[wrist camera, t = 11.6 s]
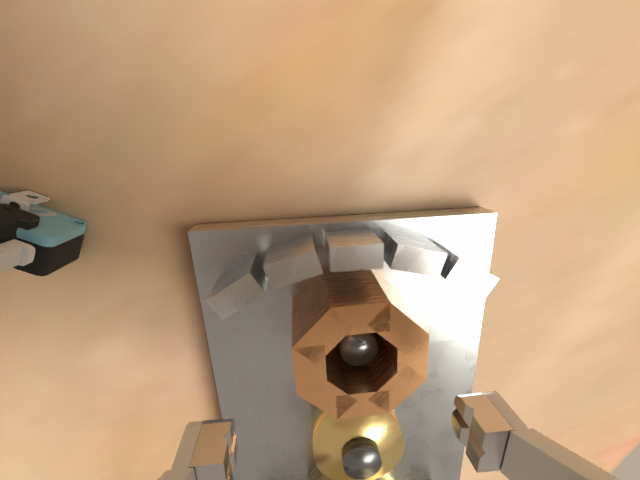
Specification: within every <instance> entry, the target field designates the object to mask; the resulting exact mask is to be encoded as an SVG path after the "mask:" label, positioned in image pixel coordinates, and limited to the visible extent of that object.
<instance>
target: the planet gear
mask: <svg viewBox="0 0 640 480" xmlns="http://www.w3.org/2000/svg"><path fill="white" fill-rule="evenodd" d="M322 271H323V274H321V275H317V276H315V278H314V279H313V280H312V281H311V282H310V283H309V284H308V285H307V286H306V287H305V288H304V289H303V290H302V292H301V293H300V294H299V295H298V296H297V297H296V298H295V299H294V300H293V301H292V355H293V364H294V373H295V383H296V392H297V395H299V396H300V397H302V398H303V399H305V400H307V401H308V402H310V403H311V404H313V405H315V406H316V407H318V408H319V409H321V410H323V411H324V412H326V413H327V414H329V415H331V416H332V417H334V418H335V419H337V420H339V419H347V418H356V417H364V416H373V415H381V414H389V413H390V412H391V411H392V410H394V409H395V408H396V407H397V406H398V405H399V404H400V403H401V402H402V401H404V400H405V399H406V398H407V397H408V396H409V395H410V394H411V393H413V392H414V391H415V390H416V389H417V388H418V387H419V386H420V385H421V384H423V383H424V382H425V381H426V380H427V366H428V349H429V333H428V331H427V330H426V328H425V327H424V326H423V324H422V323H421V321H420V320H419V318H418V317H417V316H416V314H415V313H414V311H413V310H412V308H411V307H410V306H409V304H408V303H407V301H406V300H405V298H404V297H403V296H402V294H401V293H400V291H399V290H397V289H396V288H395V287H394V286H393V285H391V284H390V283H389V282H388V281H387V280H385V279H384V278H383V277H382V276H381V275H379V274H378V273H377V272H376V271H375V270H373V269H370V270H356V271H342V272H330V269H322ZM366 333H373V334H374V337H375V339H376V342H377V344H378V352H377V355H376V356H375V358H374V359H373V360H372V361H371V362H369V363H367V364H365V365H361V366H354V365H350V364H348V363H347V362H345V361H344V360H343V358H342V356H341V352H340V348H339V342H340V341H341V340H342V339H343V338H344V337H345V336H346V335H356V334H366Z"/></svg>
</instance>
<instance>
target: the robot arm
mask: <svg viewBox="0 0 640 480" xmlns="http://www.w3.org/2000/svg"><path fill="white" fill-rule="evenodd" d="M454 405H455V406H456V409H455V410H454V411H453V412H452V418H451V421H452V427H453V430H454V433H455V435H456V437H457V439H458V440H459V442H460V443H462V444H463V445H465V446H466V447H467V448H466V454H467V456H468V458H469V460H470V461H471V463H472V465H473V467H474V468H475V470H476V472H477V473H478V472H489V471H499V470H501V473H503V474H504V475H505V476H506V477H507V478H508V479H510V480H618V479H617V478H616V477H615V476H613V475H611V474H609V473H608V472H606V471H604V470H603V469H601V468H599V467H598V466H596V465H594V464H592V463H591V462H589V461H587V460H586V459H584V458H582V457H580V456H579V455H577V454H575V453H574V452H572V451H570V450H568V449H567V448H565V447H563V446H562V445H560V444H558V443H556V442H555V441H553V440H551V439H550V438H548V437H546V436H544V435H543V434H541V433H539V432H538V431H536V430H534V429H528V428H527V426H526V425H525V424H524V423H523V422H522V420H521V419H520V418H519V417H518V416H517V415H516V413H515V412H514V411H513V410H512V409H511V407H510V406H509V405H508V404H507V403H506V402H505V400H504V399H503V398H502V397H501V396H500V394H499V393H497V392H496V391H493V392H483V393H473V394H464V395H457V396H456V397H455V398H454ZM234 430H235V422H234V419H233V418H232V419H219V420H205V421H195V422H189V423H188V424H187V426H186V428H185V431H184V434H183V436H182V439H181V442H180V445H179V448H178V451H177V454H176V457H175V459H174V462H173V465H172V468H171V470H168V471H165V472H164V473H163V475H162V476H161V477H160V478H159V479H158V480H233V475H232V471H233V470H234V469H235V468H236V460H237V436H236V435H235V434H234Z"/></svg>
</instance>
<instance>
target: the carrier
mask: <svg viewBox="0 0 640 480" xmlns="http://www.w3.org/2000/svg"><path fill="white" fill-rule="evenodd" d="M496 220H497V212H494V211H491V210H488V209H485V208H482V207H473V208H456V209H439V210H423V211H406V212H389V213H373V214H356V215H339V216H323V217H306V218H290V219H273V220H256V221H240V222H223V223H206V224H196V225H195V226H194V227H193V228H191V229H190V230H189V231H188V238H189V243H190V249H191V254H192V259H193V265H194V270H195V276H196V281H197V286H198V292H199V297H200V303H201V308H202V313H203V319H204V324H205V330H206V335H207V340H208V346H209V351H210V357H211V362H212V367H213V373H214V378H215V384H216V389H217V394H218V400H219V405H220V411H221V416H222V419H232V418H233V419H234V422H235V430H234V434H235V435H236V436H237V460H236V468H235V469H234V470H233V471H232V475H233V480H460V473H461V466H462V459H463V452H464V445H463V444H462V443H460V442H459V440H458V439H457V437H456V435H455V433H454V430H453V427H452V421H451V418H452V412H453V411H454V410H455V409H456V406H455V405H454V398H455V397H456V396H457V395H464V394H472V388H473V381H474V374H475V367H476V360H477V353H478V346H479V339H480V332H481V325H482V318H483V311H484V304H485V298H486V297H487V295H488V294H489V293H490V291H491V290H492V289H493V287H494V286H495V284H496V283H497V282H498V280H499V279H500V278H498V277H497V276H495V275H494V274H492V273H491V272H489V269H490V262H491V255H492V248H493V241H494V234H495V227H496ZM322 269H330V272H342V271H356V270H370V269H373V270H375V271H376V272H377V273H378V274H379V275H381V276H382V277H383V278H384V279H385V280H387V281H388V282H389V283H390V284H391V285H393V286H394V287H395V288H396V289H397V290H399V291H400V293H401V294H402V296H403V297H404V298H405V300H406V301H407V303H408V304H409V306H410V307H411V308H412V310H413V311H414V313H415V314H416V316H417V317H418V318H419V320H420V321H421V323H422V324H423V326H424V327H425V328H426V330H427V331H428V333H429V349H428V366H427V380H426V381H425V382H424V383H423V384H421V385H420V386H419V387H418V388H417V389H416V390H415V391H414V392H413V393H411V394H410V395H409V396H408V397H407V398H406V399H405V400H404V401H402V402H401V403H400V404H399V405H398V406H397V407H396V408H395V409H394V410H392V411H391V412H390V413H389V414H381V415H373V416H364V417H356V418H347V419H339V420H337V419H335V418H334V417H332V416H331V415H329V414H327V413H326V412H324V411H323V410H321V409H319V408H318V407H316V406H315V405H313V404H311V403H310V402H308V401H307V400H305V399H303V398H302V397H300V396H299V395H297V392H296V383H295V373H294V364H293V355H292V301H293V300H294V299H295V298H296V297H297V296H298V295H299V294H300V293H301V292H302V290H303V289H304V288H305V287H306V286H307V285H308V284H309V283H310V282H311V281H312V280H313V279H314V278H315V276H317V275H321V274H323V271H322ZM339 348H340V352H341V356H342V358H343V360H344V361H345V362H347V363H348V364H350V365H354V366H361V365H365V364H367V363H369V362H371V361H372V360H373V359H374V358H375V356H376V355H377V352H378V344H377V342H376V339H375V337H374V334H373V333H366V334H356V335H346V336H345V337H344V338H343V339H342V340H341V341H340V342H339Z"/></svg>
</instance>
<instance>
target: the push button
mask: <svg viewBox="0 0 640 480" xmlns="http://www.w3.org/2000/svg"><path fill="white" fill-rule="evenodd" d="M28 195H29V196H35V197H38V198H37V199H34V198H29V197H27V196H28ZM47 201H50V198H49V197H46V196H44V195H41V194H38V193H36V192H33V191H22V192H16V193H11V194H8V193H6V192H3V191H0V273H2V272H4V271H6V270H8V269H10V268H15V269H19V270H22V271H25V272H28V273H31V274H34V275H37V276H46V275H49V274H50V273H52V272H54V271H56V270H58V269H60V268H61V267H63V266H65V265H67V264H69V263H71V262H72V261H74V260H76V259H78V257H79V253H80V249H81V245H82V242H83V238H84V234H85V230H86V226H87V222H85V221H83V220H80V219H78V218H73V217H71V216H68V215H65V214H63V213H60V212H57V211H54V210H52V209H49V208H46V207H44V206H41V205H38V204H39V203H43V202H47Z"/></svg>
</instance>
